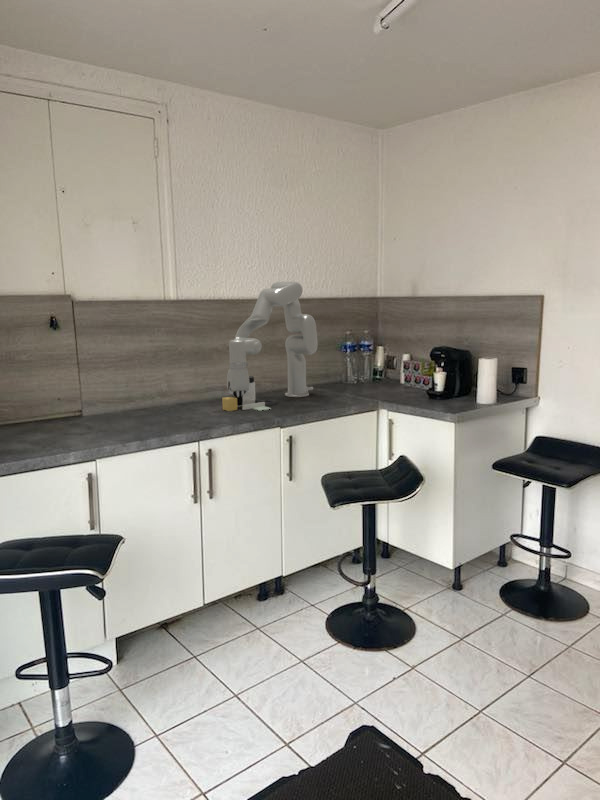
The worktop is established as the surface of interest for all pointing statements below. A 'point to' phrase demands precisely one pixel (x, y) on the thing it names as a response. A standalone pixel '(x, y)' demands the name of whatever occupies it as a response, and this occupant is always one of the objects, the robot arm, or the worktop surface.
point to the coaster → (261, 408)
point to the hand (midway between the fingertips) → (239, 405)
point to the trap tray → (267, 402)
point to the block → (229, 403)
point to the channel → (251, 404)
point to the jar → (250, 390)
